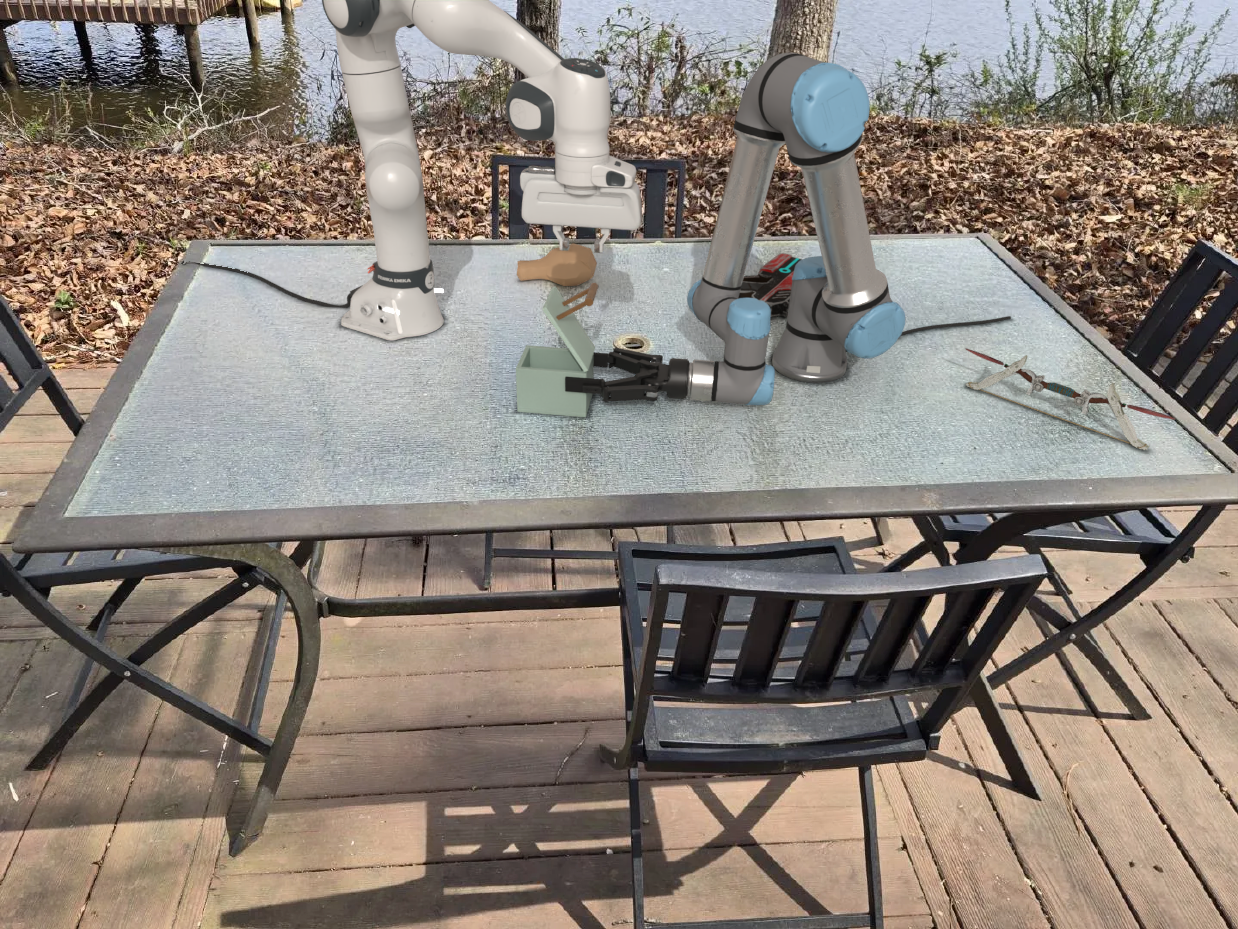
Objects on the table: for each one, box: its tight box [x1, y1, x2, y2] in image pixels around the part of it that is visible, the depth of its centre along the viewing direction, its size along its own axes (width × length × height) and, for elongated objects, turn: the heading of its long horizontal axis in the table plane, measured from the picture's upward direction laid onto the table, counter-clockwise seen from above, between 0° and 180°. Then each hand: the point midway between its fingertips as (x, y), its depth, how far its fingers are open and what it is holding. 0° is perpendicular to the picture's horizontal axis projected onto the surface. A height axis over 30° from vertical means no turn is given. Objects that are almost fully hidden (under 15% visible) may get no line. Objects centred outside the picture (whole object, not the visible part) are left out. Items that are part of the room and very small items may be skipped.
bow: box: [964, 347, 1177, 451], centre depth 165 cm, size 39×2×10 cm, turn 47°
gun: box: [738, 252, 802, 318], centre depth 215 cm, size 4×31×19 cm
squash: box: [516, 242, 598, 287], centre depth 216 cm, size 11×20×9 cm, turn 90°
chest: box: [515, 344, 595, 418], centre depth 166 cm, size 13×10×9 cm
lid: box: [541, 282, 599, 372], centre depth 158 cm, size 14×10×8 cm
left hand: (581, 250), depth 151 cm, fingers open, 5 cm apart
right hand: (570, 370), depth 164 cm, fingers closed on chest, 10 cm apart
